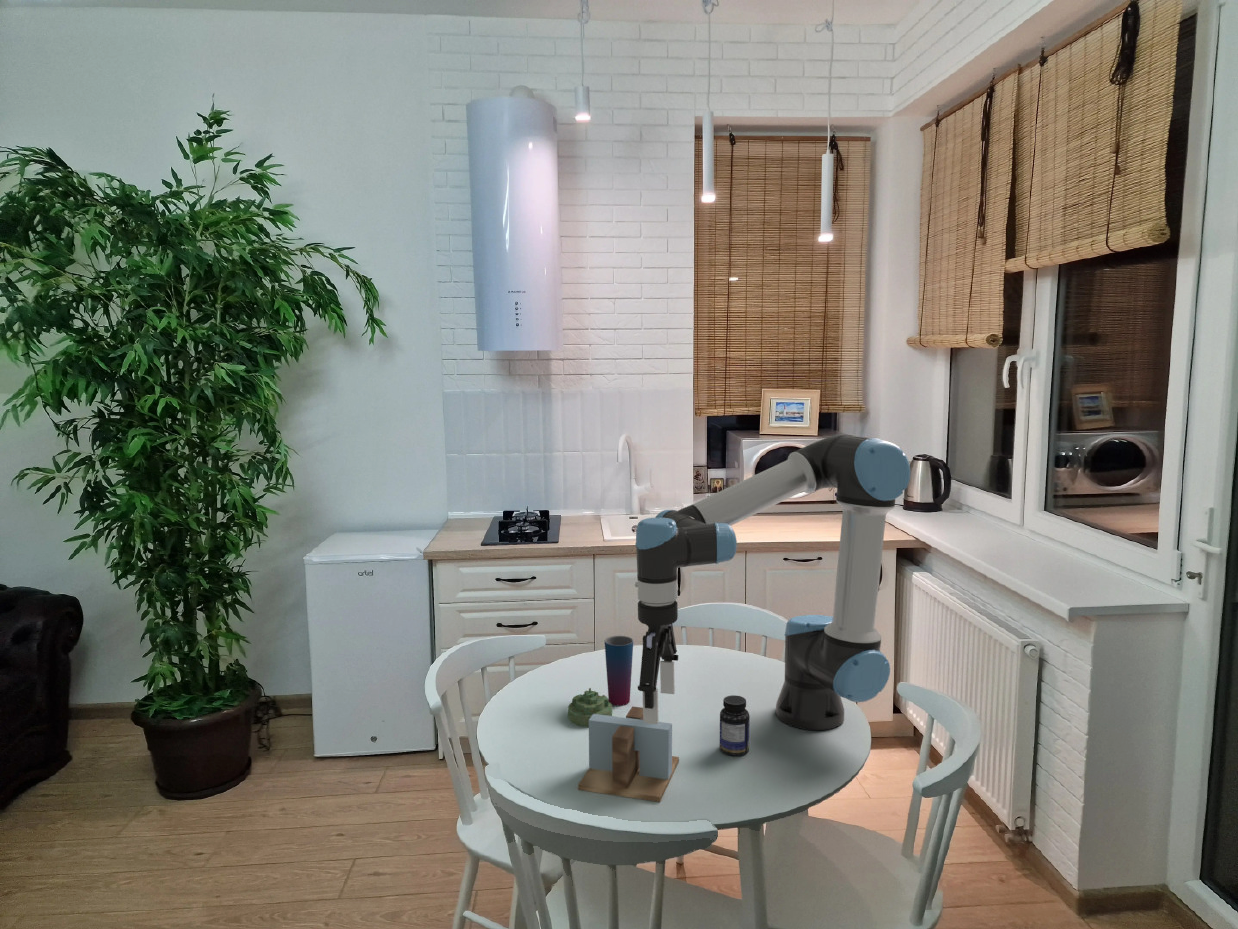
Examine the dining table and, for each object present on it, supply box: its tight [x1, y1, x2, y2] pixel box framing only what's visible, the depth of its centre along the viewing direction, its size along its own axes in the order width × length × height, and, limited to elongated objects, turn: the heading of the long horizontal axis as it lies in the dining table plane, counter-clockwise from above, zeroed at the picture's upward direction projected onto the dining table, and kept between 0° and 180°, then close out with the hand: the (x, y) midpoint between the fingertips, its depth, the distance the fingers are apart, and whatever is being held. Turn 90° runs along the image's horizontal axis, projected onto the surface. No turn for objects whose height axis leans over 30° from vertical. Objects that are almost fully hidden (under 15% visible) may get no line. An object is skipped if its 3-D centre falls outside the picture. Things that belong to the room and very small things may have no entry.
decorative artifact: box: [567, 687, 613, 728], centre depth 189 cm, size 10×7×10 cm
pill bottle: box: [719, 694, 750, 757], centre depth 173 cm, size 6×6×11 cm
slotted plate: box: [588, 714, 673, 780], centre depth 163 cm, size 16×3×10 cm, turn 74°
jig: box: [577, 705, 680, 803], centre depth 163 cm, size 16×16×11 cm
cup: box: [604, 635, 634, 706], centre depth 197 cm, size 7×7×15 cm
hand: (659, 707), depth 160 cm, fingers open, 13 cm apart
